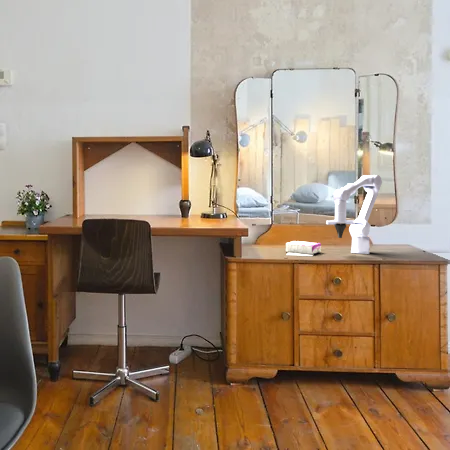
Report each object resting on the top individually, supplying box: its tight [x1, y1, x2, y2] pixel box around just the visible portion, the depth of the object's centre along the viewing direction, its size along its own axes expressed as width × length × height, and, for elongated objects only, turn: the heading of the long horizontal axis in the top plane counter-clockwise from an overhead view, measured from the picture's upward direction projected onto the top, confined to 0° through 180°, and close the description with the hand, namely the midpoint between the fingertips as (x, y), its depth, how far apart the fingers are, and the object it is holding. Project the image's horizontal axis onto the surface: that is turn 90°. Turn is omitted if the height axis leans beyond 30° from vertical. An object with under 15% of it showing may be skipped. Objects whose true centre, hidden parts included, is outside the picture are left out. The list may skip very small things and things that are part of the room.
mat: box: [285, 252, 315, 257], centre depth 244 cm, size 14×16×1 cm
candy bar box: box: [285, 240, 322, 254], centre depth 247 cm, size 11×5×16 cm
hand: (339, 237), depth 238 cm, fingers closed
